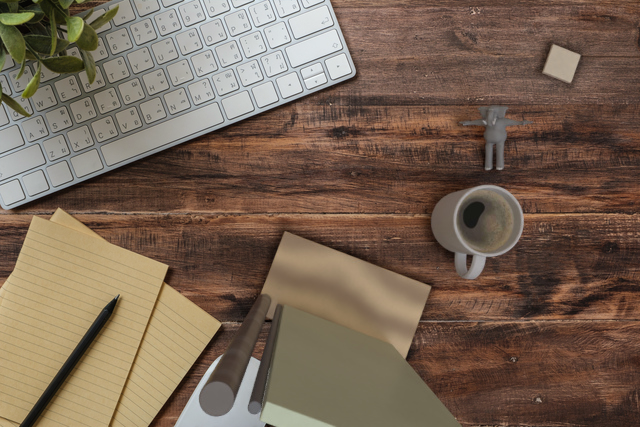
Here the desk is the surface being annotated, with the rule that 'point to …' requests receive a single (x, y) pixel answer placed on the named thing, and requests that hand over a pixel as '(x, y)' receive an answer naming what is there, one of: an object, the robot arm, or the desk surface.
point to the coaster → (561, 64)
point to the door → (338, 379)
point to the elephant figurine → (494, 132)
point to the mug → (477, 225)
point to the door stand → (320, 307)
